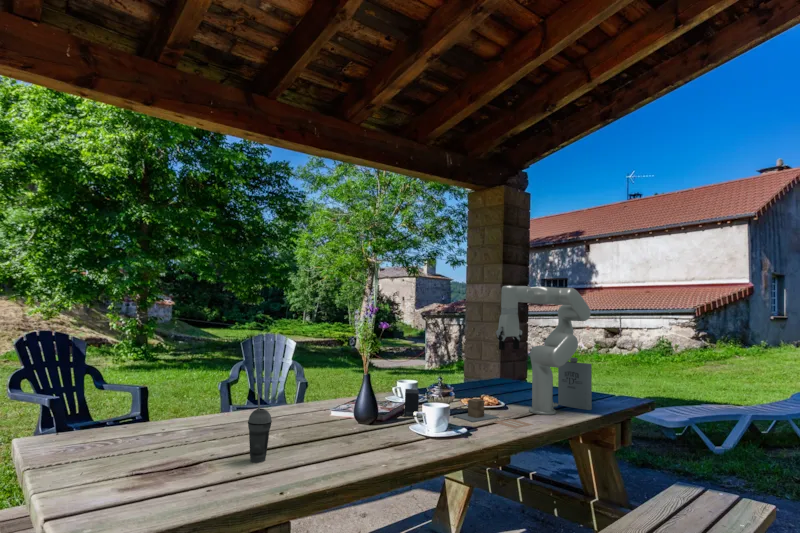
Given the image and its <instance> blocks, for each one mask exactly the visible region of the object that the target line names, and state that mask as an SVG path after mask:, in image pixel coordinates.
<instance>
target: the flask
mask: <svg viewBox="0 0 800 533" xmlns="http://www.w3.org/2000/svg"><path fill="white" fill-rule="evenodd" d="M578 360H579V359H578V357H571V358H570V359H569V360H568V361H567V362H566V363H565V364H564V365H563V366H562V367H559V368H557V371H558V372H557V374H558V375H557V379H558V380H557V384H558V385H557V390H558V391H557V393H558V394H557V395H558V396H557V398H558V399H557V401H558V402H557V404H558V406H564V407H568V408H574V409H580V410H586V411H591V410H592V408H593V406H592V403H593V402H592V400H593V398H592V395H593V392H592V388H593V387H592V386H593V384H592V383H593V382H592V374H593V372H592V369H593V368H592V363H587V362H578Z"/></svg>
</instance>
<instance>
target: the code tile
mask: <svg viewBox="0 0 800 533" xmlns="http://www.w3.org/2000/svg"><path fill="white" fill-rule="evenodd" d="M493 423H494V424H497V425H498V424H499V425H501V426H505V427H509V428H512V429H519V428H524V427H525V428H526V427H530V426H534V424H533V423H529V422H526V421H521V420H517V419H515V418H510V419H503V420H499V421H498V420H497V421H493Z"/></svg>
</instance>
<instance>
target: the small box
mask: <svg viewBox="0 0 800 533" xmlns="http://www.w3.org/2000/svg"><path fill="white" fill-rule="evenodd" d="M419 395H420V391H419V389H413V388H405V391H404V410H403V411H404V412H403V413H404V414H403V416H404V417H414V416H413V412H414V411H418V412H419V407H420V406H419V403H420V396H419Z"/></svg>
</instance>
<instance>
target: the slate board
mask: <svg viewBox="0 0 800 533" xmlns="http://www.w3.org/2000/svg"><path fill="white" fill-rule="evenodd" d="M456 418H457V419H460V420H462V421H467V422H469V423H477V422H478V423H479V422H483V421H490V420H495V419H500V417H499V416H497V415H493V414H488V413H485V412H484V417H479V418H474V417H471V416H468V412H467V413H462V414H455V415H452V419H456Z"/></svg>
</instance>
